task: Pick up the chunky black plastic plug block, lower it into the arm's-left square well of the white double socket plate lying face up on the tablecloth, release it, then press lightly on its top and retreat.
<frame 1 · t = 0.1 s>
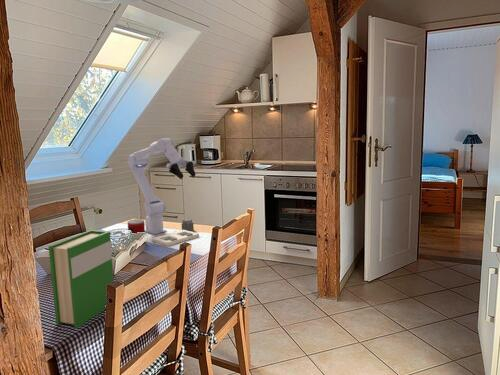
hand: (188, 176, 194), 32 cm above the table, tool tilted 50°, fingers open, 7 cm apart
plug: (187, 230, 218), on the table
hardback book: (87, 313, 126), on the table
socket plate: (176, 238, 203), on the table
canned food: (137, 243, 198), on the table
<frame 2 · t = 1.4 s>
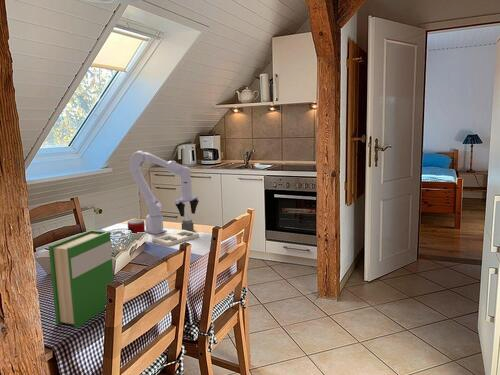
hand: (187, 214, 217), 9 cm above the table, tool pointing down, fingers open, 7 cm apart
nothing on the table moved.
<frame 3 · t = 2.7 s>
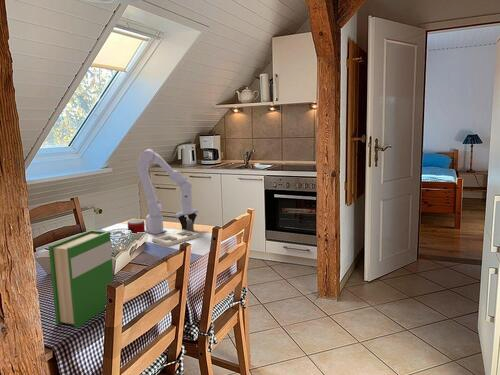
hand: (187, 228, 218), 1 cm above the table, tool pointing down, fingers closed on plug, 4 cm apart
plug: (187, 230, 218), on the table, touching gripper
everything else where it was.
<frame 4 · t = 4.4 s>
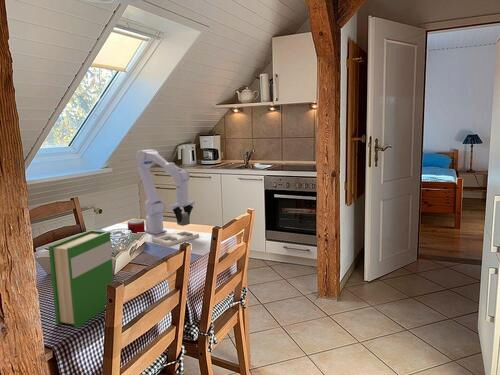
hand: (183, 220, 205), 8 cm above the table, tool pointing down, fingers closed on plug, 5 cm apart
plug: (183, 224, 206), point 7 cm above the table, touching gripper
everything else where it was.
when the fingers open (3 cm above the table, at t = 5.9 s): plug stays where it is, resting on socket plate.
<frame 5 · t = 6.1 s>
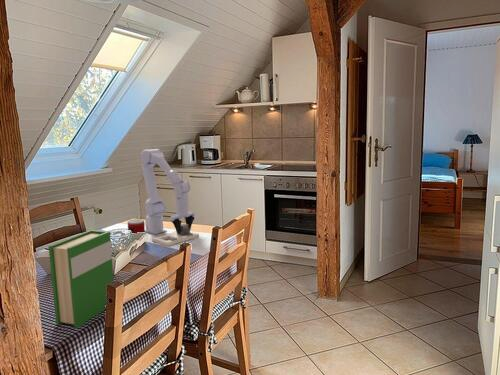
hand: (183, 231, 206), 3 cm above the table, tool pointing down, fingers open, 6 cm apart
plug: (183, 236, 207), resting on socket plate
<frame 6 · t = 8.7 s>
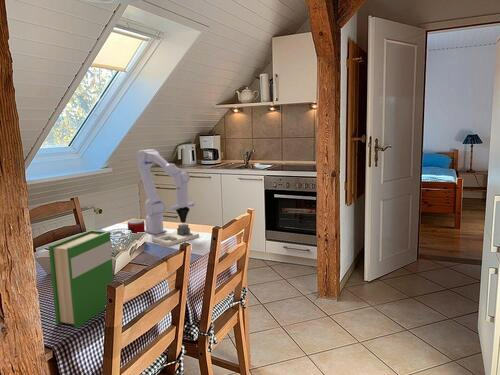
hand: (183, 222, 206), 8 cm above the table, tool pointing down, fingers closed
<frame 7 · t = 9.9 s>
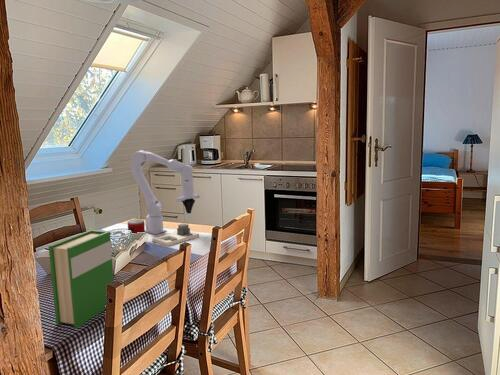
hand: (188, 213, 216), 10 cm above the table, tool pointing down, fingers closed
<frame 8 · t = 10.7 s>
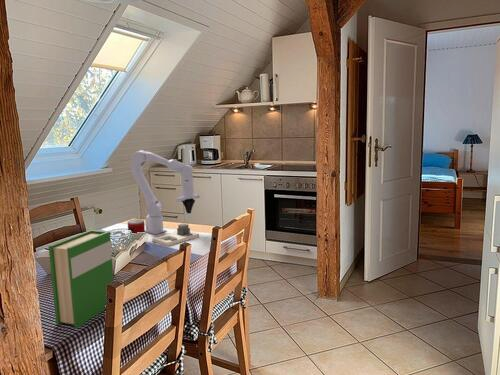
hand: (188, 213, 216), 10 cm above the table, tool pointing down, fingers closed
at the end: plug 0.0 cm from the target spot on the socket plate, point 0.3 cm above the socket plate's base; plug tilted 0°; the gripper is holding nothing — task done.
